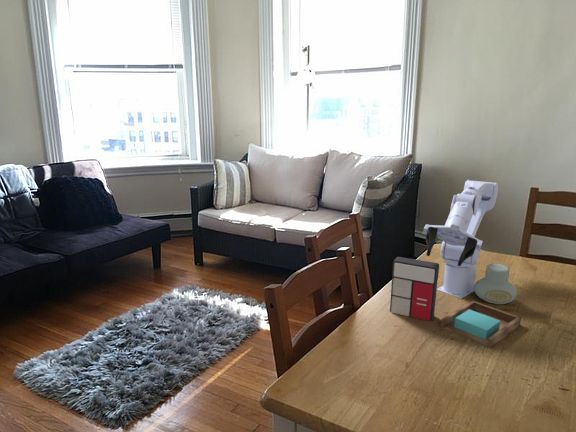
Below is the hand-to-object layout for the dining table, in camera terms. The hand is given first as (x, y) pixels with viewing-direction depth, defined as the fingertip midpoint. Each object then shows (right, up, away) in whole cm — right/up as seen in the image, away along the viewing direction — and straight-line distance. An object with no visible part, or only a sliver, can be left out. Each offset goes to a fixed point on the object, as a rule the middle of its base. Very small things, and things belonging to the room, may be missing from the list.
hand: (443, 258), depth 111 cm
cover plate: (+8, -17, 0) cm, 19 cm away
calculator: (-6, -16, +7) cm, 19 cm away
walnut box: (+10, -18, +1) cm, 20 cm away
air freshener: (+20, -14, +16) cm, 29 cm away
